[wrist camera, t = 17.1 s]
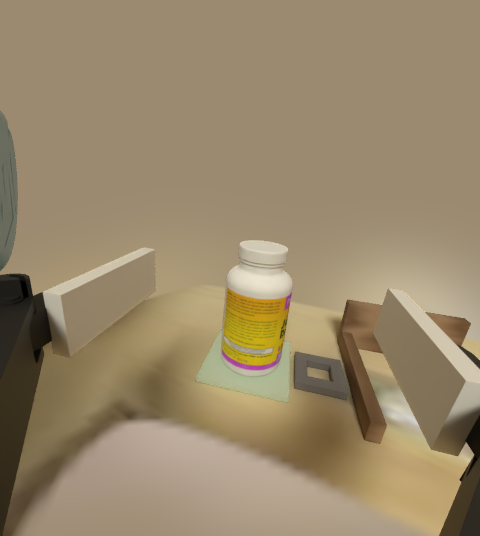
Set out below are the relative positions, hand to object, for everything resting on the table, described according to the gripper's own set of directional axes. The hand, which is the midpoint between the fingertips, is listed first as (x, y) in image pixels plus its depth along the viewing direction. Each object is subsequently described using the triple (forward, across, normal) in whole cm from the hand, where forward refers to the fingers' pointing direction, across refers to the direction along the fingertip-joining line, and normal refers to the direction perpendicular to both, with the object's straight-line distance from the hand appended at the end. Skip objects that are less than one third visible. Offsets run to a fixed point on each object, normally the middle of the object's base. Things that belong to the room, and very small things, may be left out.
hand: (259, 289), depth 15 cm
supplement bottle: (+10, -1, -13) cm, 17 cm away
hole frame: (+10, +7, -14) cm, 18 cm away
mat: (+10, -1, -14) cm, 17 cm away
